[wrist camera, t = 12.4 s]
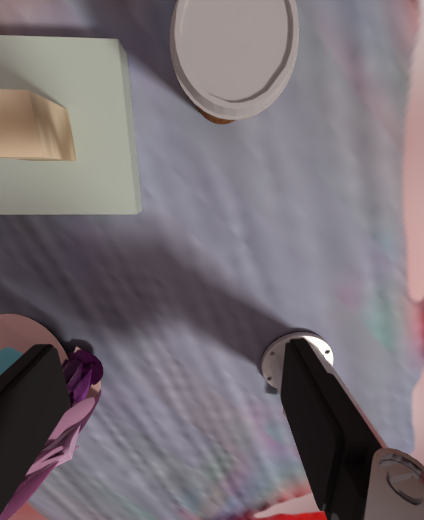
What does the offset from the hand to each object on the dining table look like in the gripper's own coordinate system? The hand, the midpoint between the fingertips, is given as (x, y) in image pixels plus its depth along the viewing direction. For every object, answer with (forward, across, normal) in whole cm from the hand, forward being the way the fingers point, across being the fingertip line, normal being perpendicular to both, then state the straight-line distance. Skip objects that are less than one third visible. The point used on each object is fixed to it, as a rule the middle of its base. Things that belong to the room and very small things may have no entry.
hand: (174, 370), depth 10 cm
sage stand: (+24, +16, -13) cm, 31 cm away
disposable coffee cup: (+24, -3, -17) cm, 30 cm away
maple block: (+21, +16, -12) cm, 29 cm away
